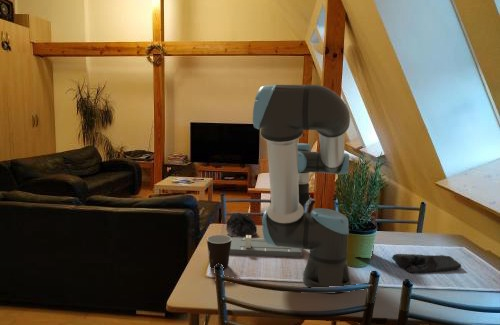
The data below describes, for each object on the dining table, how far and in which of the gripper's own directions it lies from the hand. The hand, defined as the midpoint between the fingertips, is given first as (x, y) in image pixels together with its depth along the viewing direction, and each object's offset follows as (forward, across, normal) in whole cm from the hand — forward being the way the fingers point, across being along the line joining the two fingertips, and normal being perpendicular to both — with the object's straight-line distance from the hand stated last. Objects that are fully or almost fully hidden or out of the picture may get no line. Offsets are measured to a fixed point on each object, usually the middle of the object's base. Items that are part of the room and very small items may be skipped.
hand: (297, 239), depth 142 cm
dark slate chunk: (+4, -46, +11) cm, 48 cm away
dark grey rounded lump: (+4, +24, -13) cm, 28 cm away
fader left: (+1, +20, +7) cm, 21 cm away
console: (+3, +13, +4) cm, 14 cm away
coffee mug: (+4, +29, +20) cm, 35 cm away
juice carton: (+4, -25, +5) cm, 26 cm away
